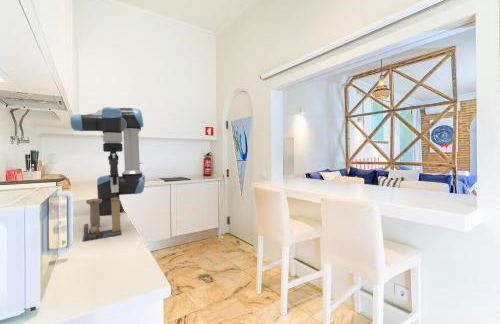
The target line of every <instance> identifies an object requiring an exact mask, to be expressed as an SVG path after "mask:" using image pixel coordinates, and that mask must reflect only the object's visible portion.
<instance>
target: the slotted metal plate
mask: <svg viewBox="0 0 500 324" xmlns="http://www.w3.org/2000/svg"><path fill="white" fill-rule="evenodd" d="M118 236H123V234H122V231H121V232H115V233H113V232H112V229H106V230H101V231H100V232H99V234H98V235H97V233H92V234H89V223H84V226H83V237H82V240H81V242H90V241H96V240H102V239H107V238H113V237H114V238H115V237H118Z"/></svg>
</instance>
